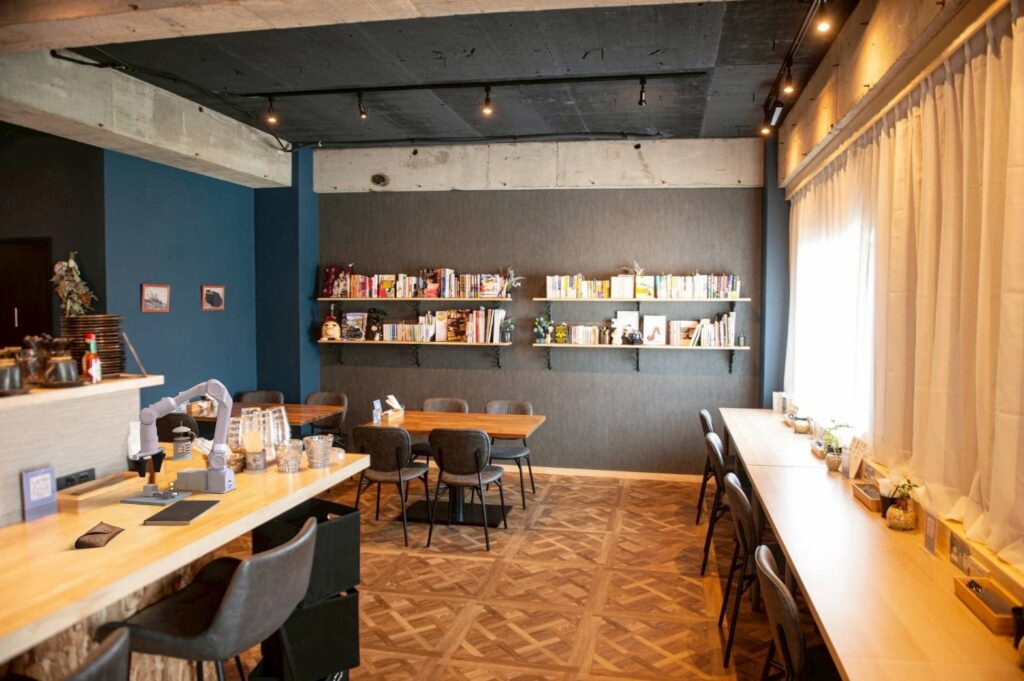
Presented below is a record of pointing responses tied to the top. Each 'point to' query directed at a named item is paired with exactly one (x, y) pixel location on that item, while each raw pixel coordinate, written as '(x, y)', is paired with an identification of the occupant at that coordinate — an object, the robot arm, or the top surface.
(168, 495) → the grey block
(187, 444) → the french press
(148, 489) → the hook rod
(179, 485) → the supplement box
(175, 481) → the ball knob lever
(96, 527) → the sunglasses case
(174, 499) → the board
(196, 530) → the top surface
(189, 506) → the hardcover book
